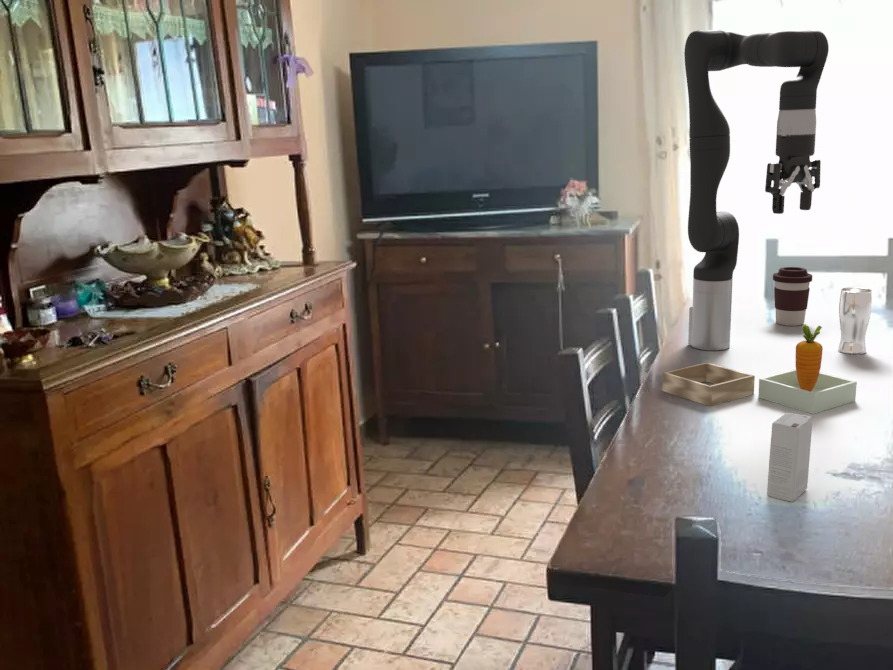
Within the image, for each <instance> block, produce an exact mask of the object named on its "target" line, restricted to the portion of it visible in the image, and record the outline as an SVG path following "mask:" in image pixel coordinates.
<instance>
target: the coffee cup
mask: <svg viewBox="0 0 893 670" xmlns="http://www.w3.org/2000/svg"><path fill="white" fill-rule="evenodd" d="M772 280H773V281H774V289H773V292H774V308H775V323H777V324H779V325H782V326H789V327H791V326H792V327H793V326H794V327H799V326H802V325H804V323H805V319H806V314H807V310H808V304H809V303H808V302H809V296H810V283H811V282H812V281H813V274H811V273H809V272H808V270H807V268H804V267H800V266H784V267H780V268H779V269H778V272H775V273H773V274H772Z"/></svg>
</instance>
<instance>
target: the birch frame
mask: <svg viewBox="0 0 893 670" xmlns="http://www.w3.org/2000/svg"><path fill="white" fill-rule="evenodd" d="M755 377H756V375H754V374H751V373H747V372H742V371H740V370H736V369H733V368H728V367H725V366H721V365H717V364H714V363H710V362H702V363H699V364H694V365H689V366H686V367H682V368H677V369H673V370H669V371H664V372H662V392H664V393H667V394H672V395H673V396H677V397H680V398H682V399H683V398H684V399H687V400H689V401H692V402H696V403H699V404H701V405H704V406H707V407H711V406H715V405H719V404H723V403H726V402H730V401H733V400H738V399H741V398H745V397H748V396H753V395H755V379H756V378H755ZM704 382H708V383H711V385H708V384H706V383H704Z"/></svg>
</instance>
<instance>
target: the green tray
mask: <svg viewBox="0 0 893 670" xmlns="http://www.w3.org/2000/svg"><path fill="white" fill-rule="evenodd" d="M857 383H858V382H857V381H855V380H852V379H847V378H844V377H839V376H835V375H831V374H827V373H823V372H819V376H818V379H817V382H816V384H815V386H814V388H813V390H812V391H811V392H810V391H806V390H803V389H801V388H800V386H799V383H798V379H797V373H796V368H795V369H791V370H788V371H784V372H779V373H776V374H771V375H768V376H765V377H764V376H763V377H761V378H759V379H758V396H757V397H758V398H759V399H763V400H766V401H769V402H772V403H775V404H776V403H777V404H778V405H783V406H784V407H785V406H786V407H788V408H789V407H790V408H792V409H796V410H799V411H803V412H806V413H810V414H812V415H814V414H817V413H820V412H823V411H826V410H830V409H832V408H836V407H840V406H843V405H846V404H849V403H854V402H856V397H857V396H856V394H857Z"/></svg>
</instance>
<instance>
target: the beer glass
mask: <svg viewBox="0 0 893 670" xmlns="http://www.w3.org/2000/svg"><path fill="white" fill-rule="evenodd" d="M872 300H873V299H872V289H870V288H868V287H867V288H865V287H859V286H858V287H854V286H852V287H848V286H847V287H842V288H841V290H840V298H839V305H838V316H839V317H838V318H839V326H840V341H839V346H838V349H837V350H838V352H839V353H841V354H846V355H863V354H866V353H867V347H866V334H867V330H868V326H869V323H870V319H871V314H872V304H873V301H872Z"/></svg>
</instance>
